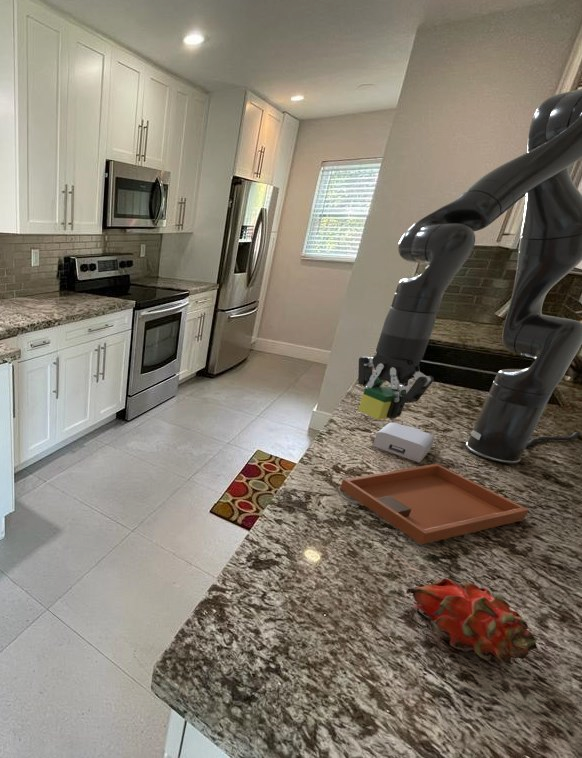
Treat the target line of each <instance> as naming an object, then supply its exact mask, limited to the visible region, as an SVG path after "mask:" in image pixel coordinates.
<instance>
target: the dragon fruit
mask: <svg viewBox="0 0 582 758" xmlns="http://www.w3.org/2000/svg"><path fill="white" fill-rule="evenodd" d="M405 594H407V595H410V594H412V597H413V598H414V601H415V603H417V604H414V605H413V609H414V611H416V614H417V615H418V616H420V617H421V620H423V621H425V623H427V624H428V625H431V627H430V628H431V632H432V633H434V634H439V635H442V632H446V633H447V634H448V635H449V636H450V641H449V645H450V647H453V648H454V649H456V650H460V651H463V652H469V651H473V653H474V654H476V655H478V657H480V658H482V659H484V660H486V661H489V660H490V659H491V658H492V655H493V656H494V657H495V658H496V659H498V660H499V661H500V662H502V663H503V664H505V665H509V666H513V665H514V663H513V662H512V661H511V659H520V660H524V659H525V658H527V656H529V653H530V652H529V651H533V650H537V649H538V646H537V639H536V638H535V635H534V634H533V633H532V632H531V630H528V629H529V626H528V624H527V622H526V621H525V620H524V619H523V617H522V616H521V615H520V613H519V612H518V611H516V610H511V607H510V604H509V603H508V601H506V600H505V599H504V598H503V597H502V596H501V595H499V594H498V593H492V592H491V593H490V591H489V590H488V588H485V587H479V586H478V585H477V584H475V583H473V582H468V581H461V582H460V583H459V582H457V581H455V580H453V579H450V578H447V577H446V578H442V579H439V580H438V581H436V582H433V583H428V584H425V585H424V584H423V585H420V586H415V587H411V588H406V592H405ZM420 611H422V612H420ZM429 618H430V619H429ZM458 645H465V646H458ZM487 654H488V655H487Z"/></svg>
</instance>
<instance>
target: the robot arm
mask: <svg viewBox="0 0 582 758" xmlns="http://www.w3.org/2000/svg"><path fill="white" fill-rule="evenodd" d="M581 159H582V88H580V89H574V90H570V91H566V92H561V93H558V94H554V95H552V96H549V97H548V98H546V99H545V100H544V101H542V102H541V104H540V105H539V106H538V107H537V109H536V110H535V112H534V114H533V116H532V118H531V122H530V125H529V129H528V134H527V152H525V153H523V154H521V155H519V156H517V157H515V158H513V159H511V160H510V161H507V162H505V163H503V164H502V165H500V166H498V167H496V168H493V170H491V171H490V172H488V173H486V174H485V175H483V176H482V177H480V178H479V179H478V180H477V181H475V183H473V184H471V186H469V187H468V188H467V189H466V190H465V191H463V193H461V195H459V196H458V197H457V198H456V199H455V200H453V201H451V202H449V203H447V204H445V205H444V206H441V207H440V208H438V209H436V210H435V211H433V212H431V213H429V214H428V215H426V216H424V217H422V218H421V219H419V220H418V221H416V222H415V223H413V224H412V225H411V226H410V227H409V228H407V230H406V231H405V232H404V233H403V235H402V236H401V238H400V240H399V242H398V248H397V250H398V254H399V256H400V257H401V258H402V259H403V260H405V261H407V262H410V263H416V264H426V265H427V266H426V267H425V269H424V270H423V272H421V274H420V275H413V276H405V277H403V278H402V279H400V280H399V282H398V284H397V287H396V289H395V292H394V295H393V298H392V302H391V305H390V307H389V310H388V312H387V315H386V316H385V319H384V322H383V325H382V329H381V331H380V335H379V338H378V342H377V345H376V349H375V353H376V354H375V355H374V356H373V357H372V356H360V357H359V358H358V371H357V372H358V373H357V374H358V375H357V376H358V378H357V380H358V381H357V382H358V385H360V386H363V387H364V390H365V389H366V388H376V387H382V386H383V384H384V383H386V382H388V383H389V384H390V388H391V390H392V391H393V401H391V404H390V407H389V410H388V413H387V417H388V418H387V419H391V420H392V419H397V418H400V417H401V416H402V413H401V412H403V409H404V406H405V404H409V403H417V402H418V401H419V400H420V399H421V398H422V396H423V395H424V394H425V393H426V391H427V390H428V389H429V387H430V386H431V385H432V383H433V382H434V381H435V379H434V376H432V375H425V374H424V373H423V372H421V371H420V370H421V369H420V363H421V361H422V360H423V358H424V357H425V353H426V350H427V347H428V344H429V341H430V339H431V336H432V333H433V330H434V328H435V324H436V318H437V314H438V312H439V308H440V305H441V302H442V300H443V297H444V293H445V292H446V290H447V288H448V287H449V285H450V284H451V282H452V281H453V280H454V278H455V276H456V275H457V274H458V272H459V271H460V270H461V268H462V267H463V265H464V264H465V263H466V262H467V260H468V258H469V257H470V256H471V254H472V252H473V249H474V247H475V244H476V233H475V232H477V231H481V230H483V229H485V228H487V227H488V226H489V225H491V224H492V223H494V222H495V221H496V220H497V219H499V218H500V217H501V216H502V215H504V213H506V211H508V210H510V208H512V207H513V206H514V205H515V204H516V203H517V202H518V201H520V200H522V198H524V197H525V196H526V197H525V205H524V213H523V220H522V225H521V230H520V237H519V244H518V250H517V251H518V252H517V263H516V264H517V265H516V272H515V277H514V284H513V289H512V292H511V293H512V294H511V298H510V302H509V306H508V310H507V313H506V317H505V320H504V323H503V328H502V332H501V333H502V334H501V344H502V347H503V349H505V351H507V352H508V353H512V354H515V355H518V356H521V357H522V356H523V357H527V358H530V359H534V361H533V362H532V364H531V365H530V366H529V367H525V368H504V369H500V370H499V371H497V373H496V375H495V377H494V379H493V382H492V384H491V386H490V388H489V391H488V394H487V395H486V398H485V400H484V403H483V405H482V407H481V410H480V412H479V415H478V417H477V420H476V421H475V424H474V426H473V428H472V431H471V433H470V436H469V438H468V440H467V442H466V443H465V448H466V449H467V450H468V451H469V452H471V453H472V454H475V455H477V456H478V457H481V458H484V459H486V460H489V461H493V462H496V463H501V464H508V465H515V464H516V465H517V464H519V463H520V461H521V459H522V456H523V454H524V452H525V450H526V448H527V447H530V446H532V445H533V444H534V443H536V442H538V441H573V440H575V439H576V438H580V437H581V433H580V432H579V431H575V432H573V434H571V435H569V436H537V437H533V438H531V437H532V436H533V434H534V431H535V429H536V427H537V425H538V423H539V421H540V419H541V417H542V415H543V413H544V411H545V409H546V406H547V405H548V402H549V400H550V399H551V396H552V394H553V392H554V390H555V388H556V387H557V386H558V384H559V383H560V382H561V381H562V379H563V378H564V376H565V374H566V373H567V371H568V370H569V367H570V366H571V363H572V361H573V360H574V358H575V357H576V355H577V354H578V352H579V350H580V349H581V346H582V321H579V320H577V319H571V318H565V317H559V316H554V315H547V314H543V313H542V311H543V309H542V308H543V305H544V302H545V299H546V296H547V294H548V293H549V291H551V289H552V288H553V287H554V286H555V285H556V284H557V283H559V282H560V281H561V280H562V279H564V278H565V277H566V276H567V275H568V274H569V273H570V272H571V271H573V270H574V269H575V268H576V267H577V266H578V265H579V264H580V263H581V262H582V193H581V191H580V190H579V189H578V187H577V186H576V185H575V183H574V181H573V180H572V177H571V174H570V171H569V167H570V166H572V165H573V164H575V163H576V162H578V161H579V160H581ZM373 367H374V368H373ZM373 369H374V371H373ZM412 378H413V380H412V383H413V384H412V386H411V379H412ZM399 416H400V417H399Z"/></svg>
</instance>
